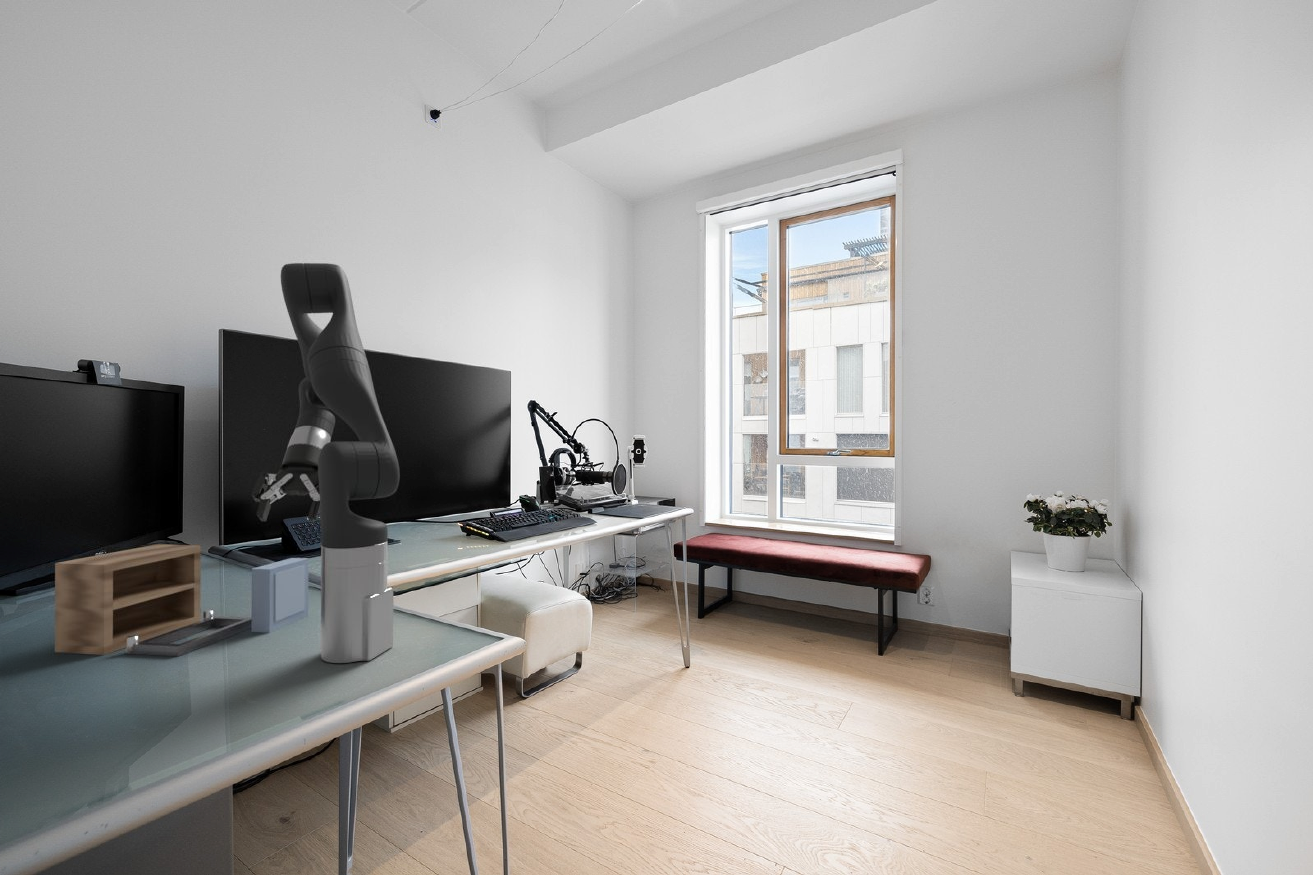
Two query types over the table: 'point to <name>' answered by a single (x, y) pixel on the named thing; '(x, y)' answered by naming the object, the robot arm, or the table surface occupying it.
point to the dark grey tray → (162, 642)
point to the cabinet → (125, 597)
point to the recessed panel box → (279, 594)
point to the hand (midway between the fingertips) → (286, 520)
